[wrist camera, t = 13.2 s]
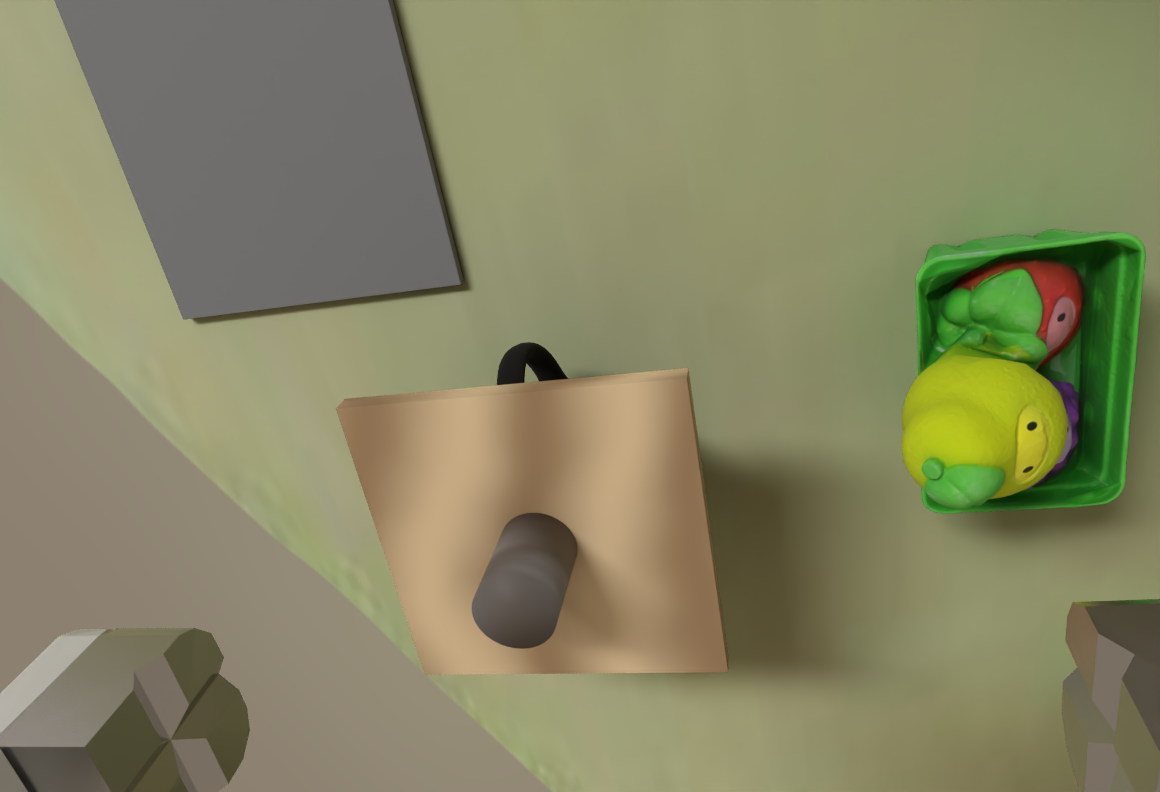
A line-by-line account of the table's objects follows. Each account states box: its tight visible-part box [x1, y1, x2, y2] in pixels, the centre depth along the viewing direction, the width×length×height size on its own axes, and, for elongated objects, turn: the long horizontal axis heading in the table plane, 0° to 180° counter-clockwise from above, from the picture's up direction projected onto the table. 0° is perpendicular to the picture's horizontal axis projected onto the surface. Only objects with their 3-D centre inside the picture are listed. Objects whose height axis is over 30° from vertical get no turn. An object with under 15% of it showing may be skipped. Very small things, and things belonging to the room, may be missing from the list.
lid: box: [336, 368, 728, 674], centre depth 32 cm, size 13×13×5 cm
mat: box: [54, 0, 464, 320], centre depth 39 cm, size 15×15×1 cm
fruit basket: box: [902, 230, 1146, 514], centre depth 33 cm, size 11×9×11 cm
